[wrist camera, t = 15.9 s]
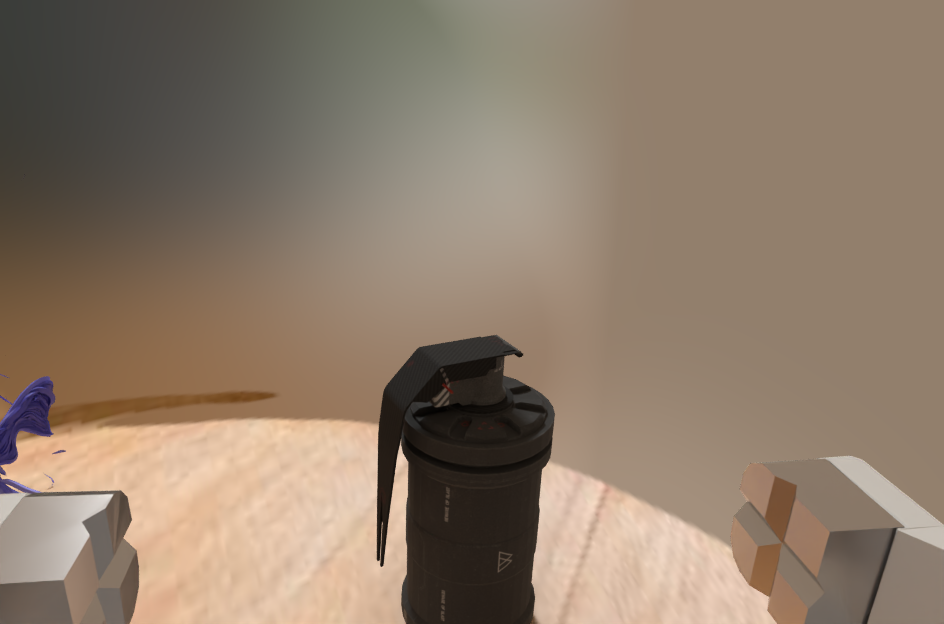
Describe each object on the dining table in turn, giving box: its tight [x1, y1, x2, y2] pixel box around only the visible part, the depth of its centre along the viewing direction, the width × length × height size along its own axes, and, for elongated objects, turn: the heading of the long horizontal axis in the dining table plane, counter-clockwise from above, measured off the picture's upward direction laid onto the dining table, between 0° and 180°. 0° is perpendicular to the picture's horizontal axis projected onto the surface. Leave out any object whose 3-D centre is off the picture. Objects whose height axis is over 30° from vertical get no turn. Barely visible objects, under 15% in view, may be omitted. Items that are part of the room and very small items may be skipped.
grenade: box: [377, 335, 555, 624], centre depth 42 cm, size 9×11×20 cm
